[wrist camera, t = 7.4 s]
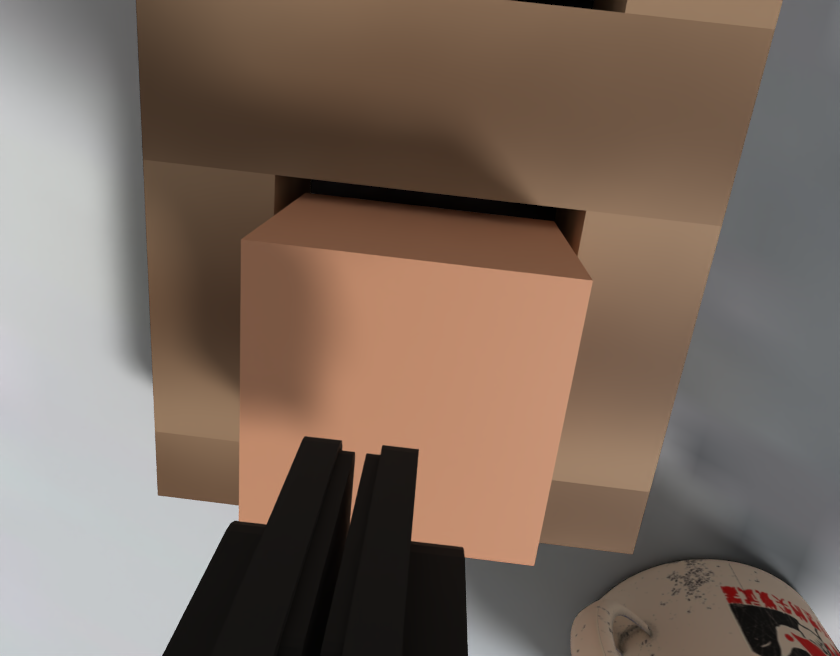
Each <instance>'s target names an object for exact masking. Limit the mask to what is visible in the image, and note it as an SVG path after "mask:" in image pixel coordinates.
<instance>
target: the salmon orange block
mask: <svg viewBox="0 0 840 656" xmlns="http://www.w3.org/2000/svg"><path fill="white" fill-rule="evenodd" d="M592 283H593V280H592V278H591V277H590V275H589V274H588V272H587V271H586V269H585V268H584V266H583V265H582V263H581V262H580V260H579V259H578V257H577V255H576V254H575V252H574V251H573V249H572V248H571V246H570V245H569V243H568V242H567V240H566V239H565V237H564V236H563V234H562V233H561V231H560V230H559V228H558V227H557V225H556V223H555V222H554V221H547V220H538V219H530V218H521V217H512V216H504V215H495V214H486V213H478V212H469V211H460V210H452V209H443V208H434V207H426V206H417V205H408V204H400V203H391V202H382V201H374V200H365V199H356V198H348V197H339V196H330V195H322V194H313V193H305V194H303V195H302V196H301V197H299V198H298V199H296V200H295V201H294V202H292V203H291V204H289V205H288V206H287V207H285V208H284V209H283V210H281V211H280V212H278V213H277V214H276V215H274V216H273V217H271V218H270V219H269V220H267V221H266V222H265V223H263V224H262V225H260V226H259V227H258V228H256V229H255V230H253V231H252V232H251V233H249V234H248V235H246V236H245V237H244V238H242V239H241V302H240V433H239V521H241V522H250V523H259V524H267V522H268V520H269V517H270V515H271V513H272V510H273V508H274V506H275V503H276V501H277V498H278V496H279V494H280V491H281V489H282V487H283V484H284V482H285V479H286V477H287V475H288V472H289V470H290V468H291V465H292V463H293V461H294V458H295V456H296V453H297V451H298V449H299V446H300V444H301V442H302V439H303V438H304V436H308V437H317V438H326V439H334V440H342V450H343V451H352V452H355V467H354V479H353V491H352V504H351V516H350V522H351V518H352V513H353V509H354V505H355V500H356V496H357V491H358V487H359V483H360V478H361V474H362V470H363V465H364V461H365V457H366V454H367V453H369V454H378V455H380V454H381V449H382V445H387V446H396V447H404V448H413V449H419V455H418V467H417V478H416V490H415V502H414V513H413V525H412V537H411V541H415V542H424V543H432V544H441V545H450V546H458V547H463V548H464V555H465V557H466V558H474V559H482V560H490V561H498V562H506V563H514V564H522V565H530V566H534V564H535V559H536V554H537V550H538V545H539V540H540V535H541V530H542V525H543V520H544V516H545V511H546V506H547V501H548V496H549V491H550V487H551V482H552V477H553V472H554V467H555V462H556V457H557V453H558V448H559V443H560V438H561V433H562V428H563V424H564V419H565V414H566V409H567V404H568V399H569V394H570V390H571V385H572V380H573V375H574V370H575V365H576V361H577V356H578V351H579V346H580V341H581V336H582V331H583V327H584V322H585V317H586V312H587V307H588V302H589V298H590V293H591V288H592Z"/></svg>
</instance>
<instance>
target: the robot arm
mask: <svg viewBox="0 0 840 656" xmlns="http://www.w3.org/2000/svg"><path fill="white" fill-rule="evenodd" d="M418 455H419V449H413V448H404V447H396V446H387V445H382V449H381V454H380V455H378V454H369V453H367V454H366V457H365V461H364V465H363V470H362V474H361V478H360V483H359V487H358V491H357V496H356V500H355V505H354V509H353V513H352V518H351V522H350V516H351V504H352V491H353V479H354V467H355V452H352V451H343V450H342V440H334V439H326V438H317V437H308V436H304V438H303V439H302V442H301V444H300V446H299V449H298V451H297V453H296V456H295V458H294V461H293V463H292V465H291V468H290V470H289V472H288V475H287V477H286V479H285V482H284V484H283V487H282V489H281V491H280V494H279V496H278V498H277V501H276V503H275V506H274V508H273V510H272V513H271V515H270V517H269V520H268V522H267V524H259V523H250V522H241V521H234V522H232V523H231V524H230V525H229V527H228V528H227V530H226V532H225V534H224V536H223V538H222V540H221V541H220V543H219V545H218V547H217V549H216V551H215V553H214V555H213V557H212V559H211V561H210V563H209V565H208V567H207V569H206V571H205V573H204V575H203V577H202V579H201V581H200V583H199V585H198V587H197V589H196V591H195V593H194V595H193V596H192V598H191V600H190V602H189V604H188V606H187V608H186V610H185V612H184V614H183V616H182V618H181V620H180V622H179V624H178V626H177V628H176V630H175V632H174V634H173V636H172V638H171V640H170V642H169V644H168V646H167V648H166V650H165V651H164V653H163V655H162V656H468V644H467V613H466V581H465V555H464V548H463V547H458V546H450V545H441V544H432V543H424V542H415V541H411V537H412V525H413V513H414V502H415V490H416V478H417V467H418Z"/></svg>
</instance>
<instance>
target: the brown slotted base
mask: <svg viewBox="0 0 840 656" xmlns="http://www.w3.org/2000/svg"><path fill="white" fill-rule="evenodd" d="M782 1H783V0H594V2H593V8H592V9H584V8H575V7H566V6H557V5H548V4H539V3H529V2H520V1H511V0H136V13H137V36H138V58H139V81H140V103H141V126H142V148H143V171H144V193H145V216H146V238H147V261H148V283H149V306H150V328H151V351H152V373H153V396H154V418H155V441H156V463H157V486H158V495H159V496H168V497H176V498H184V499H192V500H200V501H208V502H216V503H224V504H232V505H239V433H240V302H241V239H242V238H244V237H245V236H246V235H248V234H249V233H251V232H252V231H253V230H255V229H256V228H258V227H259V226H260V225H262V224H263V223H265V222H266V221H267V220H269V219H270V218H271V217H273V216H274V215H276V214H277V213H278V212H280V211H281V210H283V209H284V208H285V207H287V206H288V205H289V204H291V203H292V202H294V201H295V200H296V199H298V198H299V197H301V196H302V195H303V194H305V193H311V179H315V180H324V181H332V182H341V183H350V184H358V185H367V186H376V187H385V188H393V189H402V190H411V191H419V192H428V193H437V194H445V195H454V196H463V197H471V198H480V199H489V200H498V201H506V202H515V203H524V204H532V205H541V206H550V207H557V209H556V215H555V221H554V222H555V223H556V225H557V227H558V228H559V230H560V231H561V233H562V234H563V236H564V237H565V239H566V240H567V242H568V243H569V245H570V246H571V248H572V249H573V251H574V252H575V254H576V255H577V257H578V259H579V260H580V262H581V263H582V265H583V266H584V268H585V269H586V271H587V272H588V274H589V275H590V277H591V278H592V280H593V283H592V288H591V293H590V298H589V302H588V307H587V312H586V317H585V322H584V327H583V331H582V336H581V341H580V346H579V351H578V356H577V361H576V365H575V370H574V375H573V380H572V385H571V390H570V394H569V399H568V404H567V409H566V414H565V419H564V424H563V428H562V433H561V438H560V443H559V448H558V453H557V457H556V462H555V467H554V472H553V477H552V482H551V487H550V491H549V496H548V501H547V506H546V511H545V516H544V520H543V525H542V530H541V535H540V540H539V543H545V544H553V545H561V546H569V547H577V548H586V549H594V550H602V551H610V552H618V553H626V554H633V552H634V548H635V544H636V541H637V537H638V533H639V529H640V526H641V522H642V518H643V515H644V511H645V507H646V504H647V500H648V496H649V492H650V489H651V485H652V481H653V478H654V474H655V470H656V467H657V463H658V459H659V456H660V452H661V448H662V444H663V441H664V437H665V433H666V430H667V426H668V422H669V419H670V415H671V411H672V407H673V404H674V400H675V396H676V393H677V389H678V385H679V382H680V378H681V374H682V370H683V367H684V363H685V359H686V356H687V352H688V348H689V345H690V341H691V337H692V334H693V330H694V326H695V322H696V319H697V315H698V311H699V308H700V304H701V300H702V297H703V293H704V289H705V285H706V282H707V278H708V274H709V271H710V267H711V263H712V260H713V256H714V252H715V249H716V245H717V241H718V237H719V234H720V230H721V226H722V223H723V219H724V215H725V212H726V208H727V204H728V200H729V197H730V193H731V189H732V186H733V182H734V178H735V175H736V171H737V167H738V164H739V160H740V156H741V152H742V149H743V145H744V141H745V138H746V134H747V130H748V127H749V123H750V119H751V115H752V112H753V108H754V104H755V101H756V97H757V93H758V90H759V86H760V82H761V79H762V75H763V71H764V67H765V64H766V60H767V56H768V53H769V49H770V45H771V42H772V38H773V34H774V30H775V27H776V23H777V19H778V16H779V12H780V8H781V5H782Z"/></svg>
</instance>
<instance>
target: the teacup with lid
mask: <svg viewBox="0 0 840 656" xmlns="http://www.w3.org/2000/svg"><path fill="white" fill-rule="evenodd" d="M570 643H571V655H572V656H840V652H839V650H838V649H837V647H836V646H835V644H834V643H833V641H832V640H831V638H830V637H829V635H828V634H827V632H826V631H825V629H824V628H823V626H822V625H821V623H820V622H819V620H818V619H817V617H816V616H815V614H814V613H813V611H812V610H811V608H810V606H809V605H808V604H807V603H806V602H805V600H804V599H803V598H802V597H801V596H800V595H799V594H798V593H797V592H796V591H795V590H794V589H793V588H791V587H790V586H789V585H787V584H786V583H785V582H783V581H782V580H780V579H778V578H777V577H775V576H773V575H771V574H769V573H767V572H765V571H763V570H761V569H758V568H755V567H752V566H749V565H745V564H741V563H737V562H731V561H726V560H714V559H694V560H684V561H677V562H672V563H667V564H663V565H660V566H656V567H653V568H650V569H648V570H645V571H643V572H640V573H638V574H636V575H634V576H632V577H630V578H628V579H626V580H625V581H623V582H621V583H620V584H618V585H617V586H616V587H614V588H613V589H611V590H610V591H609V592H608V593H607V594H606V595H604V596H603V597H602V598H601V599H600V600H598V601H596V602H594V603H592V604H591V605H589V606H587V607H586V608H584V609H583V610H582V611H581V612H580V613H579V614H578V615H577V616H576V618H575V619H574V622H573V625H572V629H571V637H570Z"/></svg>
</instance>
